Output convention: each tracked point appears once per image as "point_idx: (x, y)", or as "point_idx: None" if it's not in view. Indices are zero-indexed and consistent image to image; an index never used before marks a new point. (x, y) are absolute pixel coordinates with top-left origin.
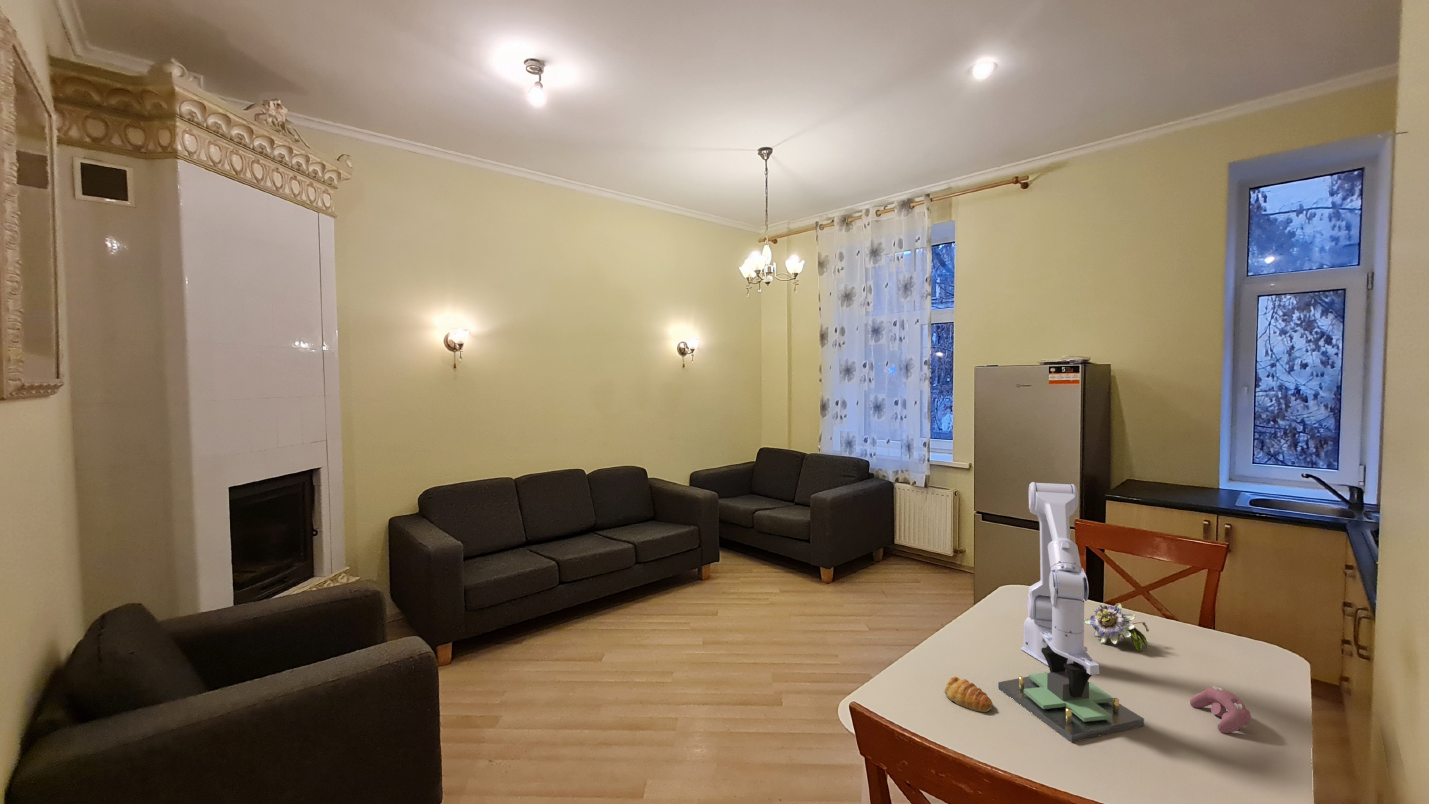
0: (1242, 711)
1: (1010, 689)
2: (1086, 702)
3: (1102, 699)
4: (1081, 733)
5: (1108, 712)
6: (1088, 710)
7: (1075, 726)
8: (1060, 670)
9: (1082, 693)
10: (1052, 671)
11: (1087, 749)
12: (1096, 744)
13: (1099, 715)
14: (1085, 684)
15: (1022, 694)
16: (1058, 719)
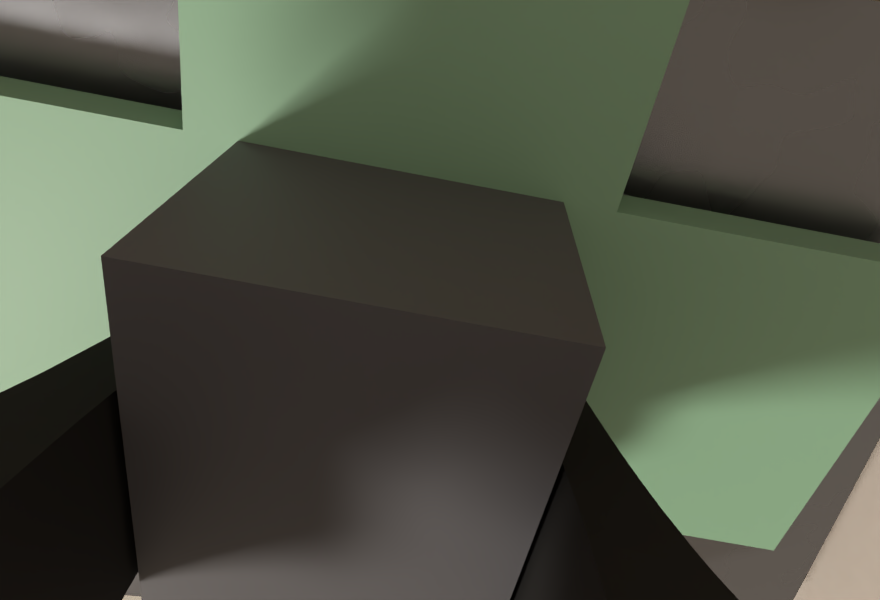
0: None
1: (135, 586)
2: (614, 315)
3: (680, 17)
4: (796, 586)
5: (798, 98)
6: (729, 429)
7: (725, 569)
8: (105, 491)
9: (585, 402)
10: (121, 592)
11: (849, 571)
12: (867, 491)
13: (859, 411)
14: (664, 525)
15: None
16: None
